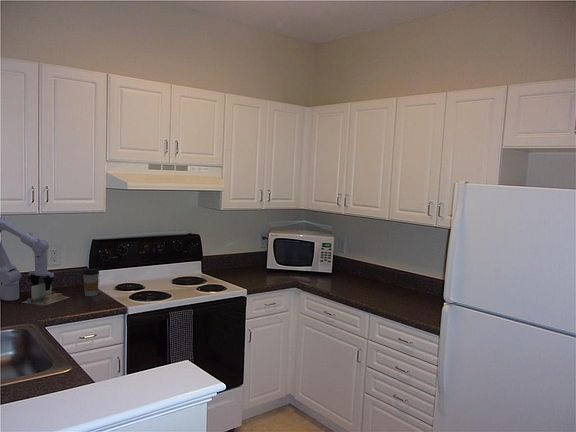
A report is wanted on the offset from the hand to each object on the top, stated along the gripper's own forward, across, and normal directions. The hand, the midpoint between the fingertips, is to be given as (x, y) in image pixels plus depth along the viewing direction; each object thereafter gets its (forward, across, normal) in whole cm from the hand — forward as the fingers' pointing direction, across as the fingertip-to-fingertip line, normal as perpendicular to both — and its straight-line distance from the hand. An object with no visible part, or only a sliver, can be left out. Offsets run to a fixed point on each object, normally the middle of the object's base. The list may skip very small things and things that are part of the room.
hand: (41, 289), depth 246 cm
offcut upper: (+4, -8, 0) cm, 9 cm away
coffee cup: (+6, -17, -17) cm, 25 cm away
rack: (+6, -3, 0) cm, 7 cm away
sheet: (+5, 0, 0) cm, 5 cm away
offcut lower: (+5, -8, 0) cm, 9 cm away
